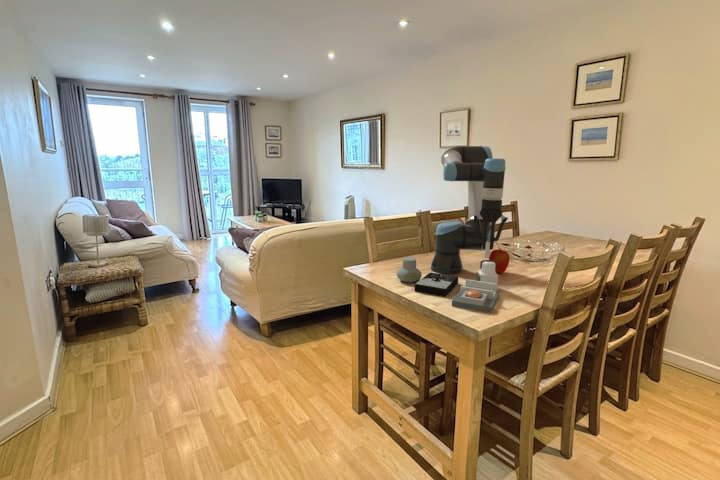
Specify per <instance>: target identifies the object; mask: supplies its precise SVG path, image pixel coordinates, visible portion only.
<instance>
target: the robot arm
mask: <svg viewBox="0 0 720 480" xmlns="http://www.w3.org/2000/svg"><path fill="white" fill-rule="evenodd" d="M440 159H441V164H442V166H443V171H442V172H443V173H442V174H443V175H442V176H443V180H444V181H445V182H467V187H468V188H467V189H468V191H467V192H468V197H467V198H468V199H467V200H468V202H467V203H468V206H467V208H468V210H467V211H468V216H467V217H468V219H467V220H466V221H465V223H464V224H463V223H462V221H445V222H441V223H439V224H437V226H436V232H435V250H434V251H435V252H434V256H433V258H432V261H431V264H430V270H431V271H433V272H434V273H437V274H439V273H440V274H444V275H454V274H460V273H462V272H463V268H464V266H463V262H462V258H461V255H460V254H461V250H467V251H468V250H470V251H480V252H482V251H485V252H484V258H487V259H489V257H490V253H491V251H493V250H494V245H495V244H494V243H495V242H498V241H499V239H500V238H501V234H502V231H503V229H504V225H505V223H506V222H507V221H508V219H509V218H508V216H505V215H503V212H502V207H503V196H504V195H503V194H504V182H505V173H506V159H504V158H493V153H492V149H491V148H490V146H486V145H485V146H484V145H483V146H482V145H474V146H472V145H457V146H454V147H450V148H449V149H447V150H445V151H444V153H442V156H441V158H440ZM498 220H500V224H499V226H498V230H497V232H496V224H497V222H498ZM495 234H496V235H495Z"/></svg>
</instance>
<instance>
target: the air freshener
mask: <svg viewBox="0 0 720 480" xmlns="http://www.w3.org/2000/svg"><path fill="white" fill-rule="evenodd" d="M396 277H397V279H399V280H400V281H402V282H403V283H408V284H412V283H417V282H418V281H420V280H421V279H422V278H421V277H422V271H421V270H420V269H419V268H417V259H416V258H415V257H404V258H402V267H400V268H399V269H398V270H397V271H396Z"/></svg>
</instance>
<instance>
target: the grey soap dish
mask: <svg viewBox="0 0 720 480" xmlns="http://www.w3.org/2000/svg"><path fill="white" fill-rule="evenodd" d="M469 290H475V291H479V292H481V299H477V298H471V297H467V291H469ZM499 297H500V290H498V283H490V282H483V281H477V279H476V280H475V279H474V280H473V279H467V278H466V279H465V285H460V289H459V291H458V292H457V293H456V294H455V296H454V297H453V298H452V300H451V306H452V307H455V308H456V307H457V308H462V309H467V310H474V311H477V312H478V311H479V312H484V313H490V314H492V313H493V311H494V309H495V306H496V304H497V301H498V300H499Z"/></svg>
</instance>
